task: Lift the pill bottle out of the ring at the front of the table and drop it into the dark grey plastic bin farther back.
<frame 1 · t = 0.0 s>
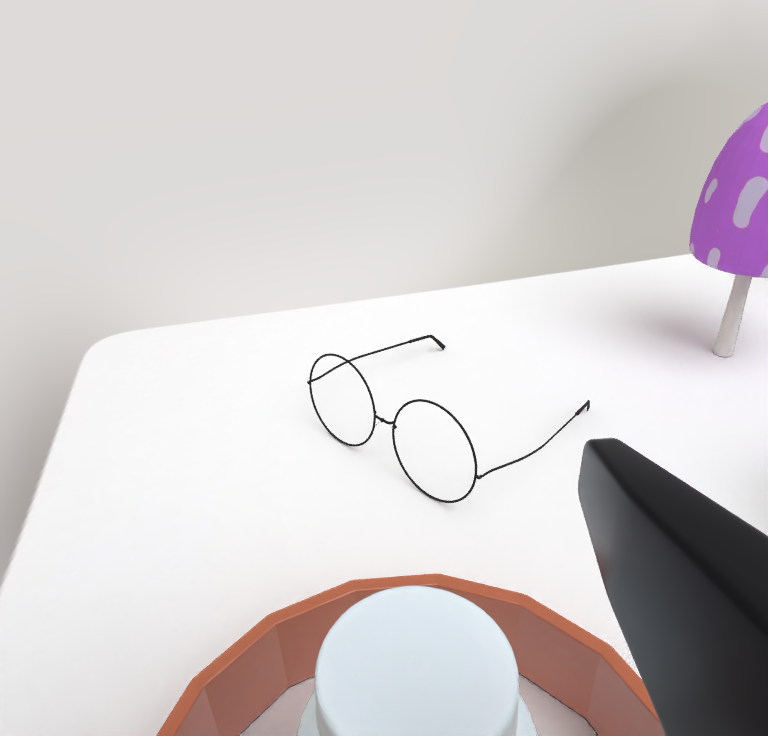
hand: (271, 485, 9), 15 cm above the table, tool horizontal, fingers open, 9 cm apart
eyeglasses: (450, 422, 36), on the table
toy: (722, 355, 41), on the table
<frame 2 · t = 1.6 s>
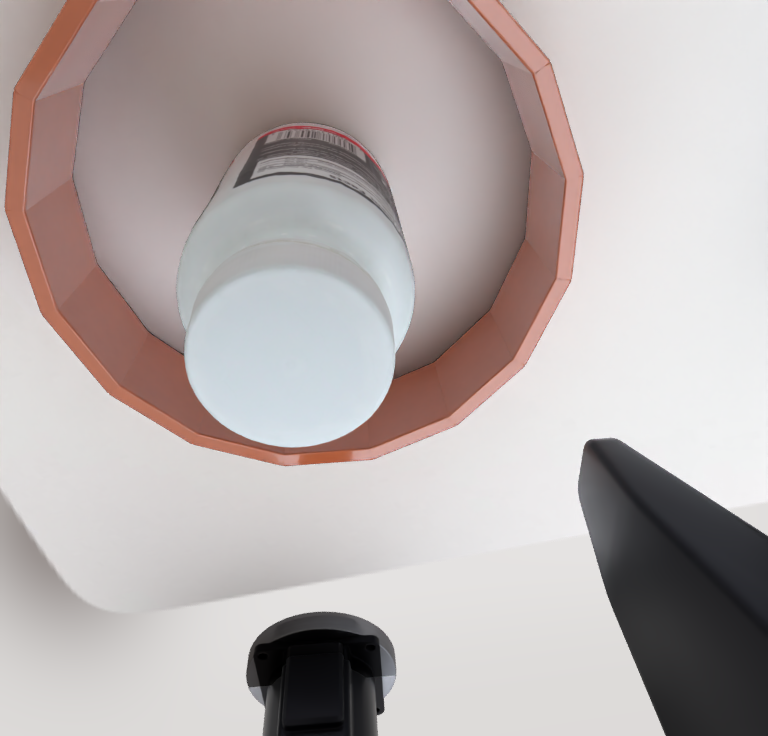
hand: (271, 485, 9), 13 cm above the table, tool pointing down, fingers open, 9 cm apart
ring: (309, 208, 20), on the table
pill bottle: (309, 206, 21), resting in ring
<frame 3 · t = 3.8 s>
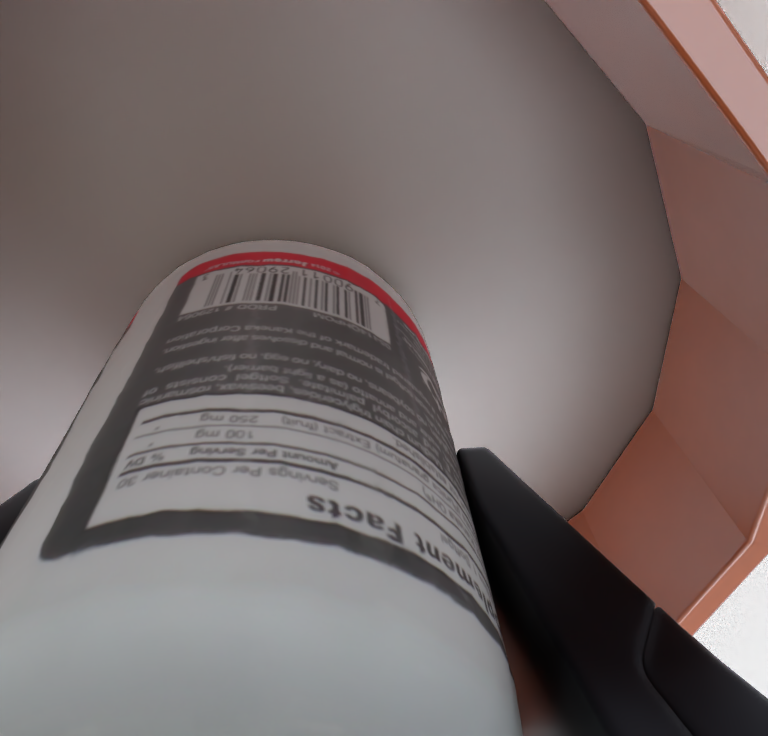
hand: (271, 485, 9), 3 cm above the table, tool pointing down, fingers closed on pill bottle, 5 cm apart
ring: (284, 372, 12), on the table
pill bottle: (285, 367, 12), resting in ring, touching gripper
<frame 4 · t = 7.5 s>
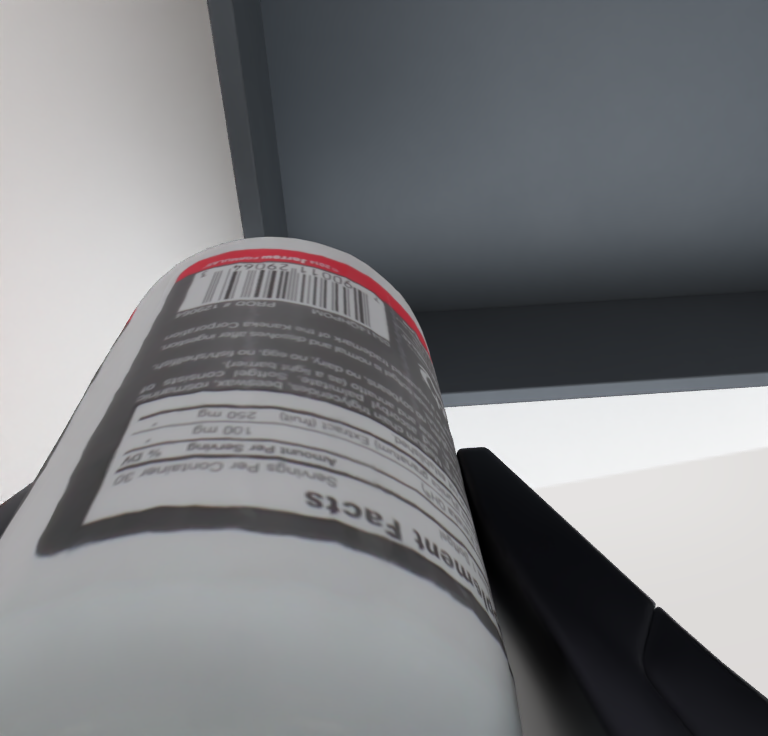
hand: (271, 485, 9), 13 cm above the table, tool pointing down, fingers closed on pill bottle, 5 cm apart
bin: (620, 56, 18), on the table
pill bottle: (284, 364, 12), point 10 cm above the table, touching gripper
when the fingers open (5 cm above the table, at t = 11.7 s): pill bottle drops 1 cm, resting on bin.
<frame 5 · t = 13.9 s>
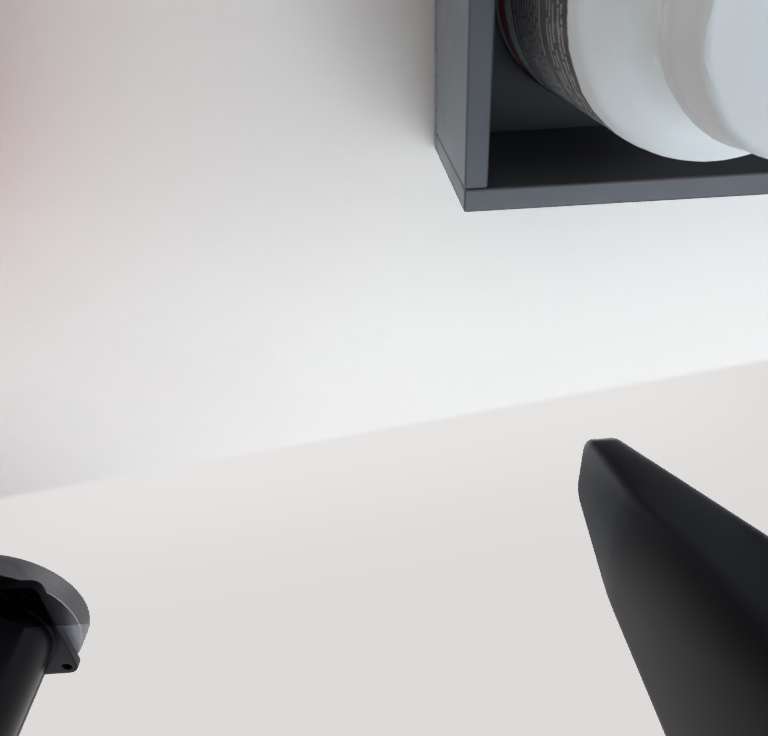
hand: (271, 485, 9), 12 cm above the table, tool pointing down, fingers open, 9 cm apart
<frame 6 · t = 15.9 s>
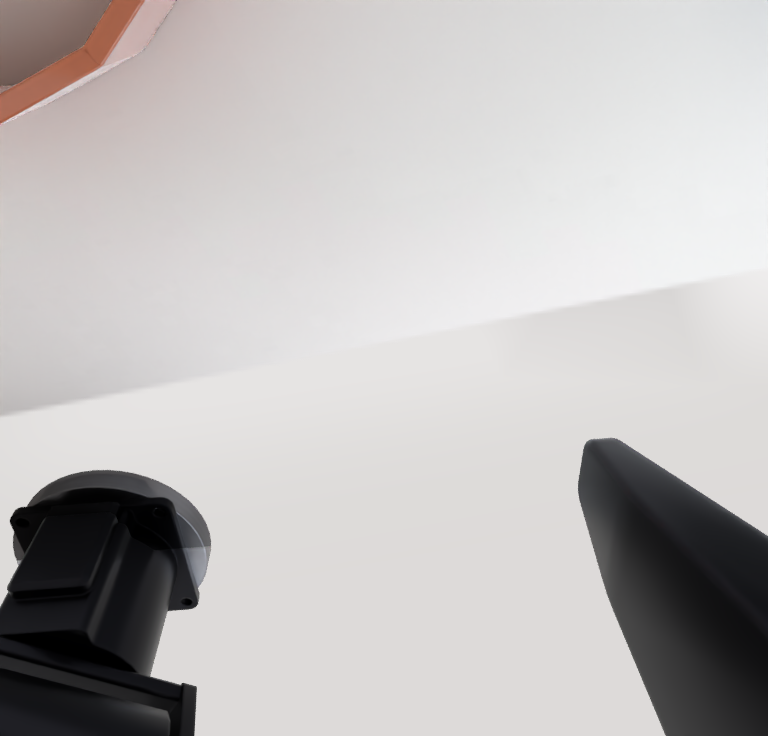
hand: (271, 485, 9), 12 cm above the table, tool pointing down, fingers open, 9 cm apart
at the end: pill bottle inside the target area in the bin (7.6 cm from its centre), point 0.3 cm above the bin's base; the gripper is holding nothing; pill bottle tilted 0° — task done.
